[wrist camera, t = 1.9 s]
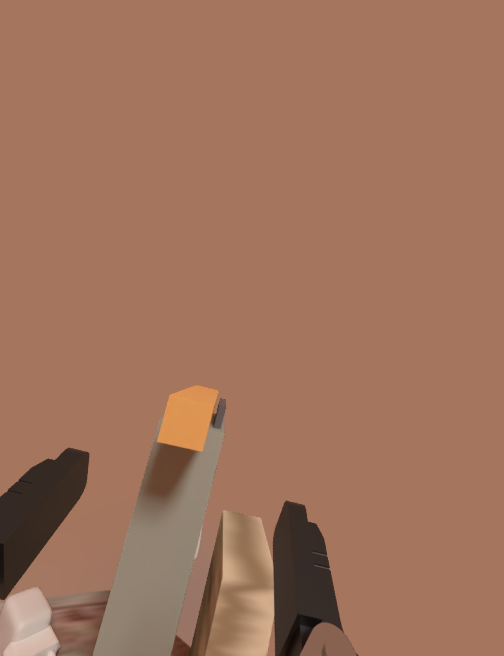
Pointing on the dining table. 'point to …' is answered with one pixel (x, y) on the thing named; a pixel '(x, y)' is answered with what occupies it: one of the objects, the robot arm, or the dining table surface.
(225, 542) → the birch block
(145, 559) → the case
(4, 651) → the power adapter
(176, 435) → the orange block
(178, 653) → the dining table surface
